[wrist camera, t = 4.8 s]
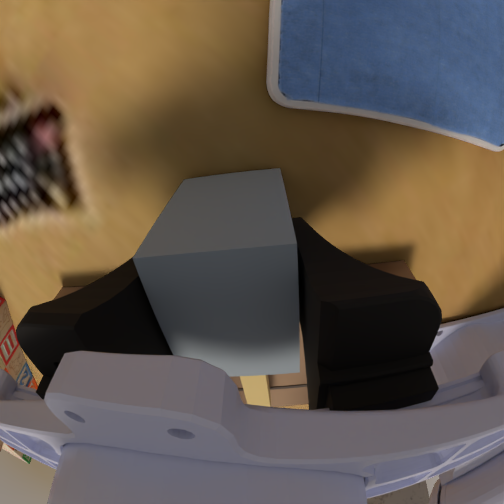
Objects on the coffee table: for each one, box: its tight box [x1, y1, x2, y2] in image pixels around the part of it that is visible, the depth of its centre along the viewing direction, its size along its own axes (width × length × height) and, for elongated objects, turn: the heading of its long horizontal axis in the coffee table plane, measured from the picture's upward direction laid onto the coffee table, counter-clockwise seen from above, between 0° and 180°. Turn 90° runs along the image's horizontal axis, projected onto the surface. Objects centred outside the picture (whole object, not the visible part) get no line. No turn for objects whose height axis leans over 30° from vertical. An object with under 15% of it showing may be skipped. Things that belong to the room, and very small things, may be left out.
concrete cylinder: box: [367, 480, 429, 504], centre depth 24 cm, size 10×10×12 cm
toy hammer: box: [133, 168, 300, 407], centre depth 13 cm, size 4×12×6 cm, turn 7°
